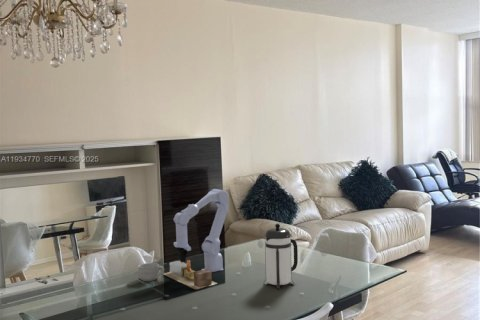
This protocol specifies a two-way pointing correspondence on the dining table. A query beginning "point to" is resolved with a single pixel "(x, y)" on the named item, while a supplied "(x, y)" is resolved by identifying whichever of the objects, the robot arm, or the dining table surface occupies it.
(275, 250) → the coffee press
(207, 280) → the walnut socket
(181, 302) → the dining table surface
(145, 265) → the teacup
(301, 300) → the dining table surface
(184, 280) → the birch board
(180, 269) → the steel block
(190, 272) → the gold square bar
